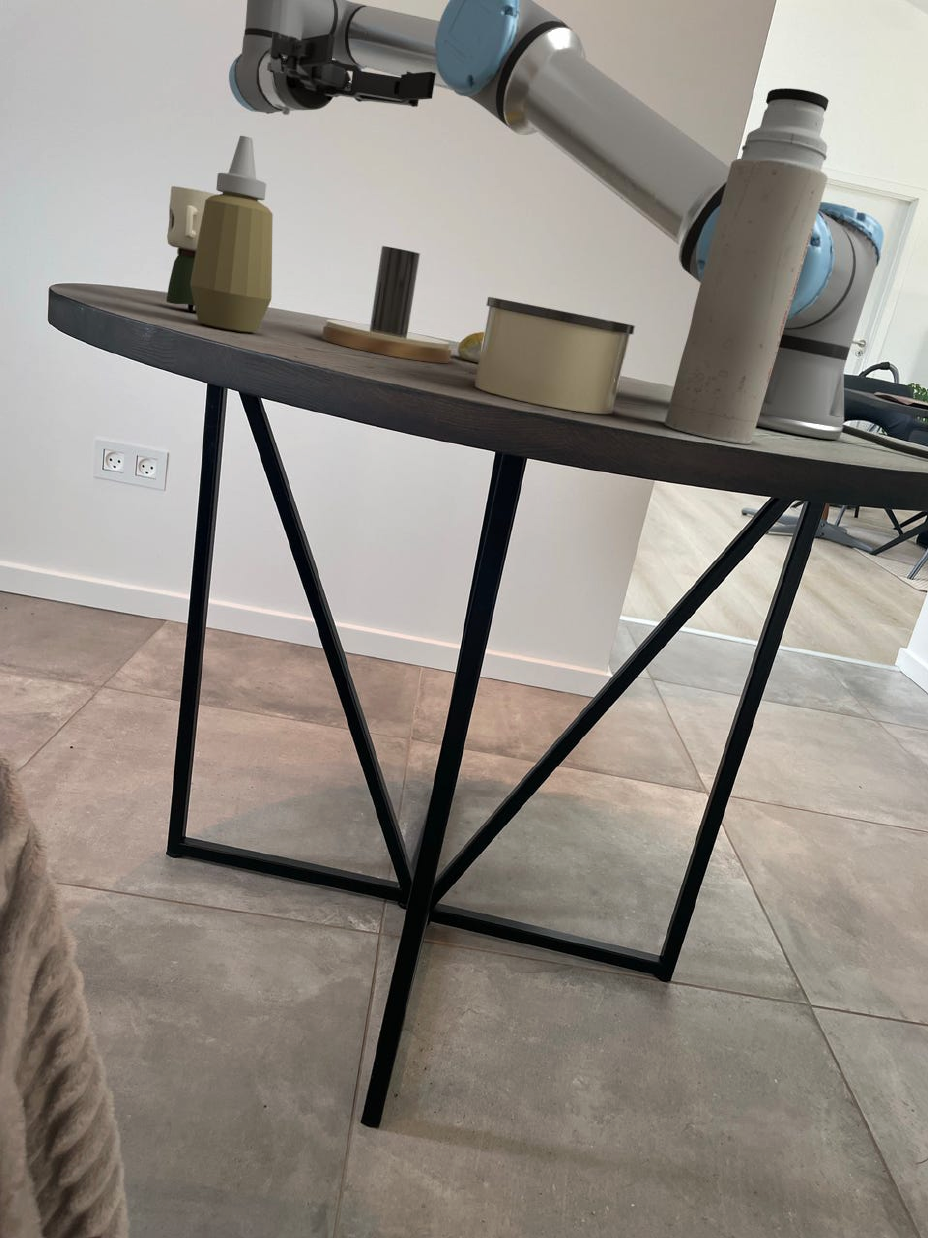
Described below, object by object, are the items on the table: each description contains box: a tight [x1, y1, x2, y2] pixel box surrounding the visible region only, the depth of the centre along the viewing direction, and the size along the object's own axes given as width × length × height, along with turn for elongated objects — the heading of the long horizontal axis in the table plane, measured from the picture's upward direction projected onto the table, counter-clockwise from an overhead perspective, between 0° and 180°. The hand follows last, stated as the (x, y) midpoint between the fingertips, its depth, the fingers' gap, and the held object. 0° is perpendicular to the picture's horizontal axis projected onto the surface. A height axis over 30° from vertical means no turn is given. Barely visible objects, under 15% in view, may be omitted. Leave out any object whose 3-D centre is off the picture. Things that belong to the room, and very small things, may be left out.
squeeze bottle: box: [190, 135, 274, 334], centre depth 93 cm, size 8×8×18 cm
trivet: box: [321, 324, 452, 364], centre depth 108 cm, size 15×15×2 cm
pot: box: [474, 296, 637, 415], centre depth 86 cm, size 14×14×8 cm
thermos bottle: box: [664, 87, 830, 445], centre depth 80 cm, size 8×8×28 cm
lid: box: [325, 245, 450, 349], centre depth 106 cm, size 14×14×10 cm
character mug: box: [165, 185, 219, 313], centre depth 107 cm, size 11×7×13 cm, turn 178°
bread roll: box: [457, 331, 484, 364], centre depth 119 cm, size 8×9×4 cm
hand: (382, 67), depth 106 cm, fingers open, 13 cm apart
